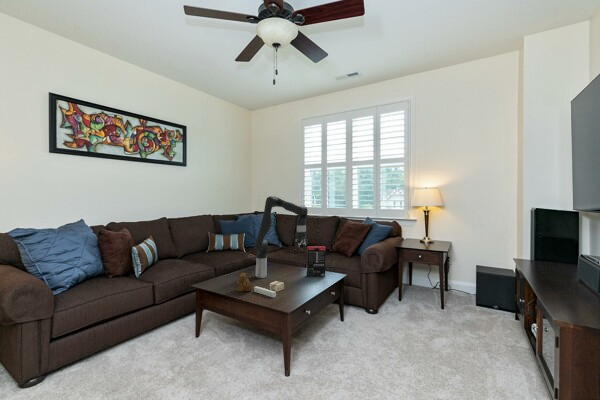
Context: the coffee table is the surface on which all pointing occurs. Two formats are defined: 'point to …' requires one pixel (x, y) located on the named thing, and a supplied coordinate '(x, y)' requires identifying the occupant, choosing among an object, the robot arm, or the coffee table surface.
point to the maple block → (276, 286)
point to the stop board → (265, 291)
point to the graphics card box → (316, 261)
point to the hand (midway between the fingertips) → (301, 250)
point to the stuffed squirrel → (244, 283)
